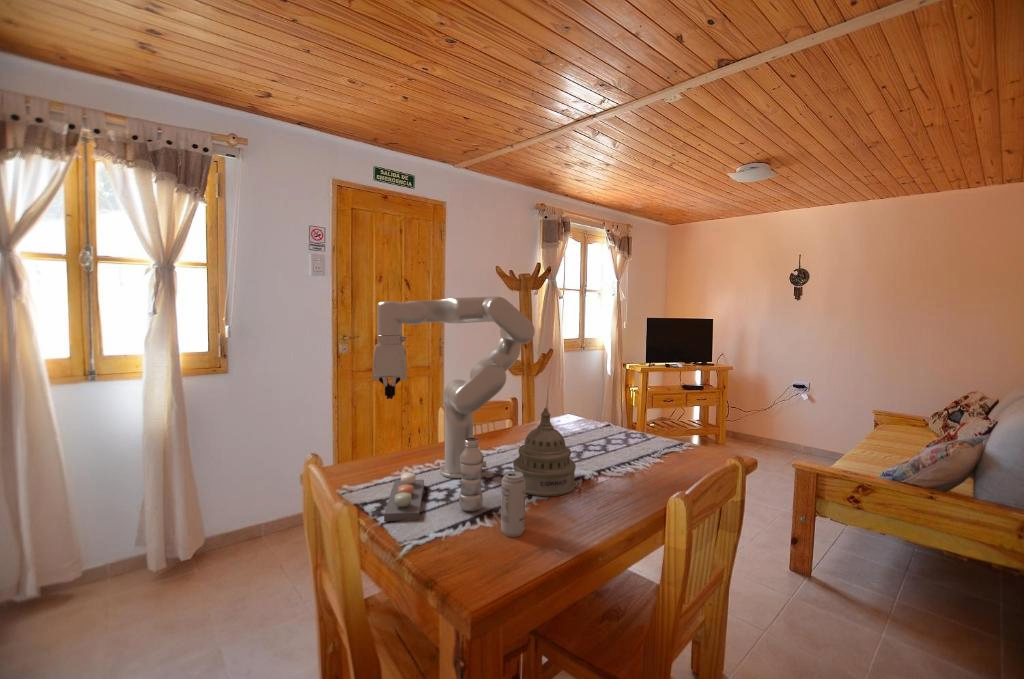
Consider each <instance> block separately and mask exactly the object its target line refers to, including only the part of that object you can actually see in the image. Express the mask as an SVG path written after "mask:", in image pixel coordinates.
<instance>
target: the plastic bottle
mask: <svg viewBox="0 0 1024 679" xmlns="http://www.w3.org/2000/svg"><path fill="white" fill-rule="evenodd" d="M479 445H480V443H479V438H477V437H473V438H466V439H465V447H466V448H465V449H464V451H463V452H462V454H461V456H460V465H461V476H462V478H461V486H460V493H459V497H458V504H459V508H460V509H461V510H463V511H465V512H476V511H479V510H480V509H481V508H482V506H483V502H484V498H483V493H482V492H483V490H482V472H483V467H482V466H483V461H484V455H483V453H482V451H481V450H480V448H479Z"/></svg>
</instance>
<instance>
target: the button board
mask: <svg viewBox="0 0 1024 679" xmlns="http://www.w3.org/2000/svg"><path fill="white" fill-rule="evenodd" d="M401 485H405V484H402V483H401V479H399V480H397V479H395V480H394V482H393V485H392V488H391V491H390V493H389V494H390V495H389V498H388V501H387V503H386V507H385V510H384V512H383V521H384V522H395V521H396V522H397V521H398V522H399V521H416V520H417V521H419V520H420V515H421V509H422V508H421V507H422V502H423V501H422V500H423V494H424V489H425V479H416V482H415V483H413V484H409V485H413V486H414V494H413V495H412V496H411V504H410V505H408V506H396V505H395V495H396V494H398V487H399V486H401Z"/></svg>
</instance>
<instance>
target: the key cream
mask: <svg viewBox="0 0 1024 679" xmlns="http://www.w3.org/2000/svg"><path fill="white" fill-rule="evenodd" d="M416 476H417V475H416V474H415V473H414V472H406V473H401V474H400V480H401V483H402V484H405V485H409V484H413V483H415V482H416V480H417V478H416Z"/></svg>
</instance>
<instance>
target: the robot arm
mask: <svg viewBox="0 0 1024 679" xmlns="http://www.w3.org/2000/svg"><path fill="white" fill-rule="evenodd" d="M376 312H377V313H376V317H377V318H376V325H377V326H376V327H377V328H376V329H377V330H376V331H377V335H376V336H377V344H375V345H374V350H373V358H372V380H373V381H376V382H380V384H382V385H383V386H384V396H386V400H393V398H394V396H396V385H398V383H400V382H402V381H405V380H407V379H408V374H407V371H408V370H407V369H408V367H407V366H408V363H407V351H406V345H405V344H403V342H407V340H408V337H407V336H403V324H404V325H411V326H412V325H413V326H418V325H421V324H423V323H446V324H469V323H472V324H473V323H485V322H486V323H489V322H492V323H495V324H496V326H498V327H499V328H500V330H499V334H500V335H499V336H500V337H499V342H498V344H497V345H496V347H495V348H493V349H492V351H490V352H489V353H488V354H487V355H485V356H484V357H482V358H481V360H479V361H477V362H476V363H475V364H474V365H473V366H472V367H471V369H470V372H469V377H470V379H469V380H468V381H466V380H464V379H454V380H453V379H452V380H451V381H450V382H448V383H447V384H446V386H445V388H444V390H443V408H444V465H442V466H441V467H440V468H439V473H440V474H441V475H442V476H443V477H446V478H448V479H449V478H451V479H462V476H461V465H460V456H461V454H462V452H463V451H464V449H465V448H466V447H465V439H466V438H474V412H477V411H478V410H480V409H481V408H482V407H483V406H484V405H486V404H487V403H488V402H489V401H490V400H491V399H493V398H494V397H495V396H496V395H498V393H500V391H501V390H502V389H503V388H504V386H505V384H506V381H507V373H506V372H507V371H508V370H509V369H510V368H511V367H512V366H513V365H514V364H515V363H516V362H517V360H518V359H519V356H520V355H521V349H522V345H525V344H528V343H530V342H531V341H532V340H533V339H534V337H535V333H536V332H535V330H536V329H535V327H534V325H533V323H532V322H531V320H530V319H529V318H528V317H526V316H525V315H524V314H523V313H522V311H520V310H518V309H517V307H516V306H515V305H513V304H512V303H511V302H510V301H509V300H507V299H506V298H504V297H502V296H473V297H472V296H471V297H470V296H469V297H467V296H466V297H450V298H444V299H443V298H442V299H433V300H432V299H431V300H407V301H405V302H399V301H388V300H387V301H385V300H383V301H379V302H378V303H377V306H376ZM390 377H391V379H392V380H391V383H389V378H390ZM482 468H487V461H485V460H483V466H482Z"/></svg>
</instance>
